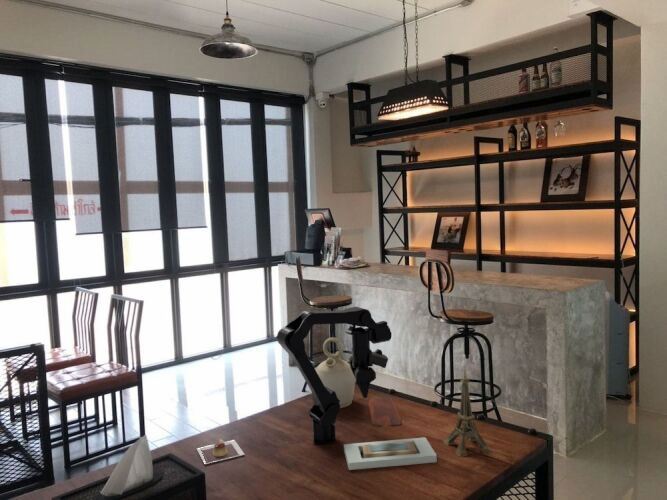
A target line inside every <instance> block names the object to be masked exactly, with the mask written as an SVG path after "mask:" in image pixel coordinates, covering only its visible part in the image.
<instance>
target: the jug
mask: <svg viewBox="0 0 667 500" xmlns="http://www.w3.org/2000/svg"><path fill="white" fill-rule="evenodd" d="M329 343H335V344H337V346H338V347H339V349H338V350H337V351H336V352H335V353H331V352H329V351H328V345H329ZM322 349H323V353H324V354H325V355H326V357H327V359H326V360H323V361H322V362H320V364H318V366H317V367H316V369H315V370H316V372H317V374H318V376H319V377H320V379H321V381H322V383H323V384H324V386H327V387H328V388H330V389H332V390H333V391H335V393H336V396H337V398H338V399H339V400H340V402H339V404H340V409H343V408H346V407H348V406H350V405H351V404H352V402H353V399H354V392H355V387H356V379H355V377H354V374H353V372H352V370H351V367H350V364H349V362H348V361H345V360H344V359H342V355H343V353H344V344H343V342H342V341H341V340H340V339H339V338H337V337H333V336H332V337H328V338H326V340H325V341H324V343H323V345H322Z"/></svg>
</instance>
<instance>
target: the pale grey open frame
mask: <svg viewBox="0 0 667 500" xmlns="http://www.w3.org/2000/svg"><path fill="white" fill-rule="evenodd" d="M400 442H413V444H414V446H415V448H416V451H417V454H408V455H396V456H385V457H374V458H363V456H362V455H361V453H363V452H362V445H369V444H384V443H400ZM343 453H344V457H345V459H346V464H347V467H348V470H349V471H353V470H367V469H374V468H388V467H398V466H399V467H400V466H409V465H419V464H430V463H432V464H433V463H437V462H438V461H437V459H438V457H437V456H438V455H437V453H436V451H435V450H434V448H432V446H431V444H430V442H429V441H428V439H427V438H426V437H416V438H414V437H413V438H403V439H391V440H390V439H389V440H379V441H370V442H354V443H346V444H344V443H343Z"/></svg>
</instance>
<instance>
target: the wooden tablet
mask: <svg viewBox="0 0 667 500" xmlns="http://www.w3.org/2000/svg"><path fill="white" fill-rule="evenodd" d="M368 407H369V411H370V414H369V415H370V418H371V423H372V426H374V427H382V426H383V427H384V426H387V427H400V426H401V425H402V419H401V416H400V412H399V410H398V408H397V407H396V404H395V402H394V401H393V399H392V398H391V397H387V396H385V397H379V398H370V399H369V401H368Z"/></svg>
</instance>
